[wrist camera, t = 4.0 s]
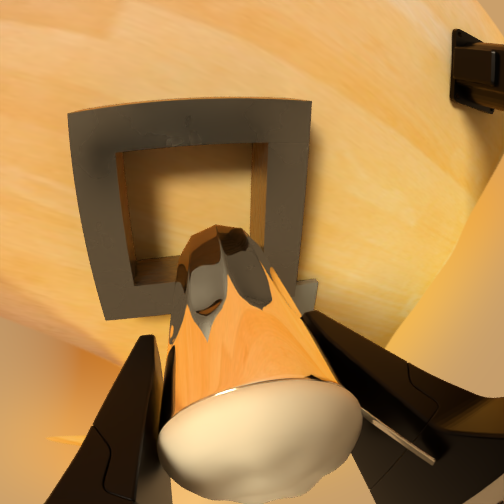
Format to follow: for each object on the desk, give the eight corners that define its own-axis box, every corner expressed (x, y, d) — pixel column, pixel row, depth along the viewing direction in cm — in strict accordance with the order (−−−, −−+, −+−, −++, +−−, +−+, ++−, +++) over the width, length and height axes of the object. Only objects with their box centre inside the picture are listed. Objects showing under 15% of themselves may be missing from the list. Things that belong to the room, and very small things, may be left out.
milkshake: (307, 271, 14) (425, 484, 6) (195, 320, 14) (228, 551, 6) (272, 178, 12) (453, 421, 3) (141, 239, 12) (108, 525, 3)
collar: (289, 98, 18) (311, 101, 15) (279, 272, 23) (294, 296, 21) (81, 109, 15) (67, 113, 12) (109, 292, 21) (105, 320, 18)
